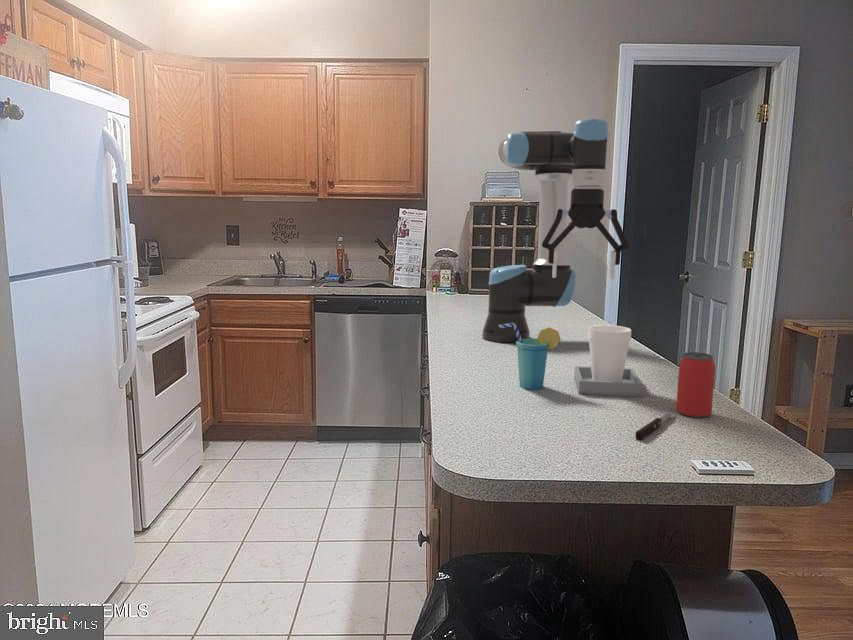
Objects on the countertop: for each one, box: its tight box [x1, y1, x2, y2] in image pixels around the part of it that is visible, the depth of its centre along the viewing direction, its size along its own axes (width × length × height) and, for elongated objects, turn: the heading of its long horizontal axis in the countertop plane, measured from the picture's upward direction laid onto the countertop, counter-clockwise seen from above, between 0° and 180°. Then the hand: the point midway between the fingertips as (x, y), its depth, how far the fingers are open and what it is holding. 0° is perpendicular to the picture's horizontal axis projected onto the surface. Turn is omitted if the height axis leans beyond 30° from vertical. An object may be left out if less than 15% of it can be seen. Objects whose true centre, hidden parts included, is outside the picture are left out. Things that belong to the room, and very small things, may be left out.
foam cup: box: [587, 324, 632, 382], centre depth 141 cm, size 10×9×13 cm
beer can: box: [675, 351, 716, 418], centre depth 123 cm, size 7×7×12 cm
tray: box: [573, 365, 644, 398], centre depth 142 cm, size 14×14×3 cm
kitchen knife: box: [635, 411, 673, 441], centre depth 115 cm, size 18×1×2 cm, turn 140°
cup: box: [499, 323, 562, 391], centre depth 141 cm, size 14×8×15 cm, turn 86°
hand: (582, 277), depth 149 cm, fingers open, 13 cm apart
